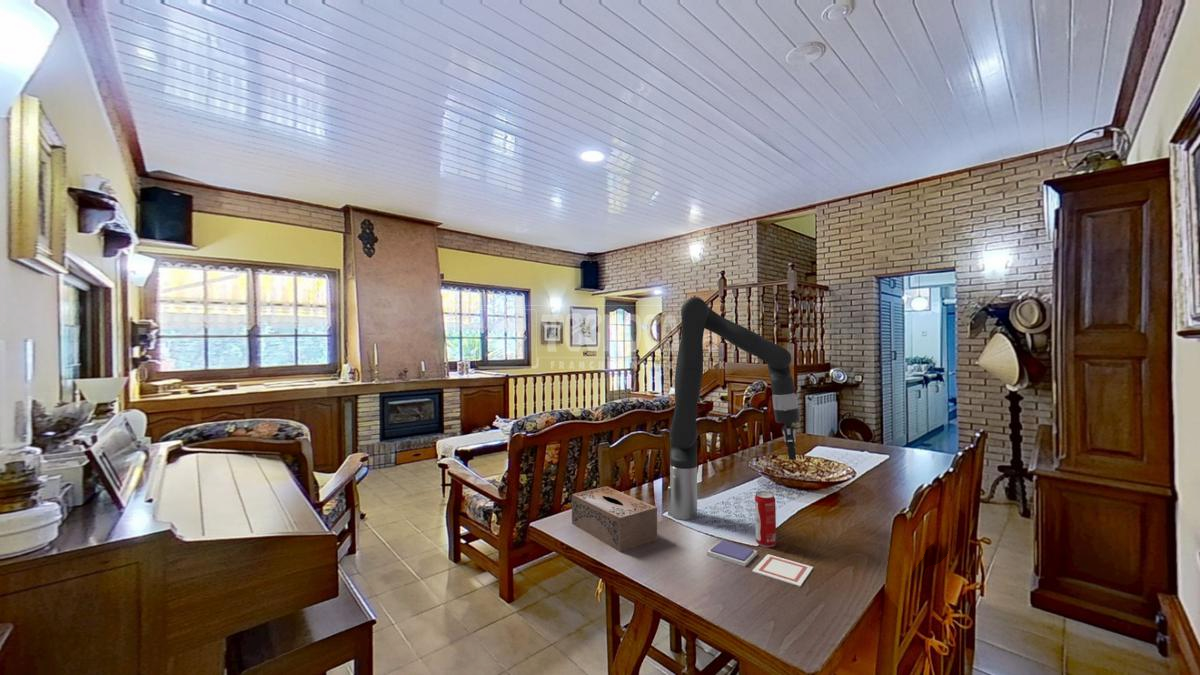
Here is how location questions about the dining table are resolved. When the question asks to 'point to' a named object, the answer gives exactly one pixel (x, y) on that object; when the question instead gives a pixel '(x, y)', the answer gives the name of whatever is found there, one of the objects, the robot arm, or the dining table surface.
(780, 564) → the marked card
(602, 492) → the tissue box cover
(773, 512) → the beverage can
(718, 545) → the ink pad
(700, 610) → the dining table surface
